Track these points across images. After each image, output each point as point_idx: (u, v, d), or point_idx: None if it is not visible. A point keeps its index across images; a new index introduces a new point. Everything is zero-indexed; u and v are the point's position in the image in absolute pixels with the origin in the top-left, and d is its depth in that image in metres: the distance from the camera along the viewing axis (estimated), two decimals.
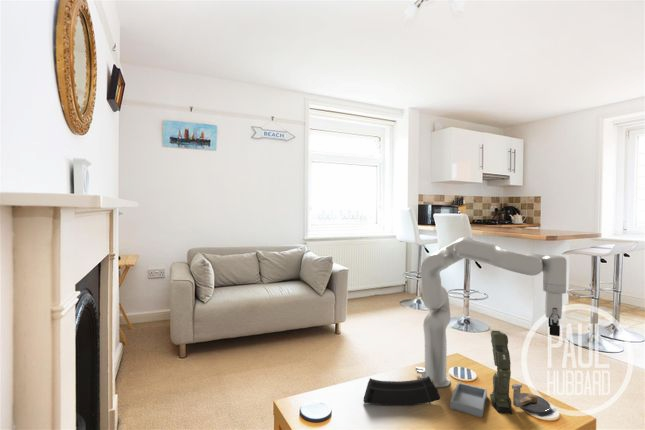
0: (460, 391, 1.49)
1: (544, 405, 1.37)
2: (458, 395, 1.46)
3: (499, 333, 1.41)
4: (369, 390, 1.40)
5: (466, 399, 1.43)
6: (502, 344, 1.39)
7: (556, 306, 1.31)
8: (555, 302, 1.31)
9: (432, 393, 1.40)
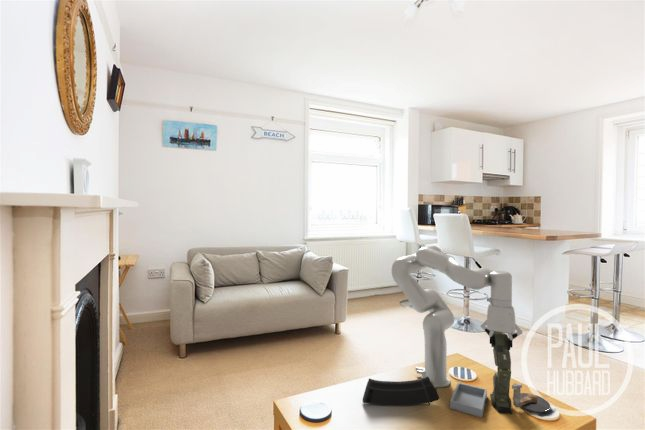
0: (460, 391, 1.49)
1: (544, 405, 1.37)
2: (458, 395, 1.46)
3: (500, 333, 1.41)
4: (368, 390, 1.40)
5: (466, 399, 1.43)
6: (503, 344, 1.39)
7: None
8: None
9: (431, 393, 1.40)
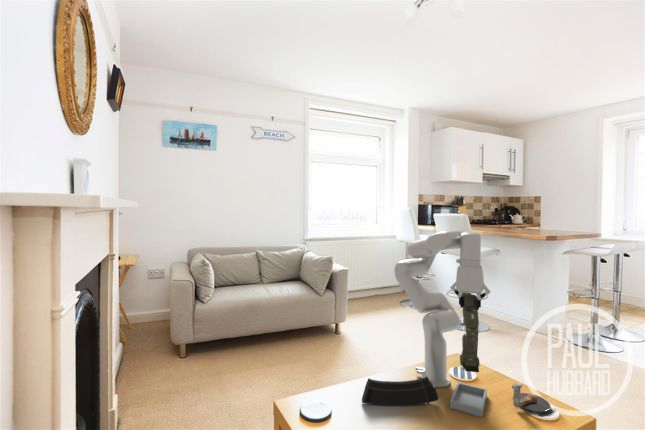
0: (460, 391, 1.49)
1: (544, 405, 1.37)
2: (458, 395, 1.46)
3: (469, 294, 1.42)
4: (367, 390, 1.40)
5: (466, 399, 1.43)
6: (471, 304, 1.40)
7: (483, 279, 1.38)
8: (482, 275, 1.38)
9: (430, 393, 1.40)
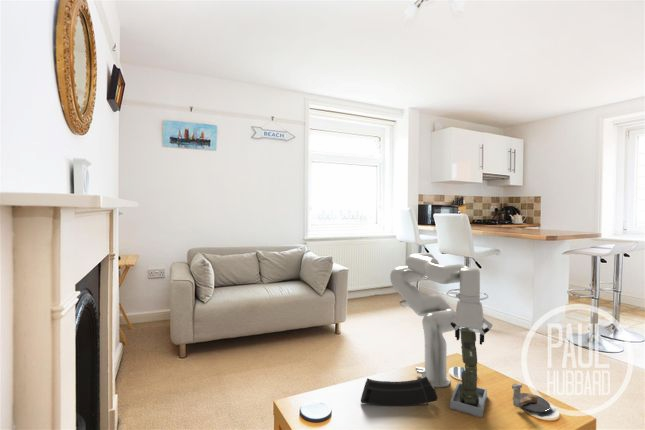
0: None
1: (544, 405, 1.37)
2: (458, 395, 1.46)
3: (467, 330, 1.43)
4: (366, 390, 1.40)
5: None
6: (470, 341, 1.41)
7: None
8: None
9: (429, 393, 1.40)
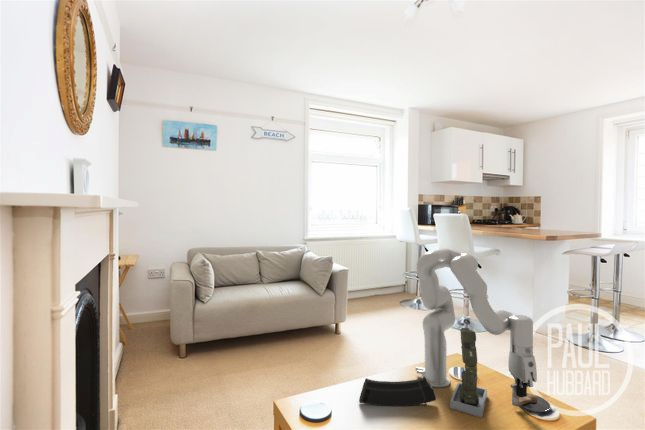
0: None
1: (544, 405, 1.37)
2: (458, 395, 1.46)
3: (467, 330, 1.43)
4: (365, 390, 1.40)
5: None
6: (470, 341, 1.41)
7: None
8: None
9: (428, 394, 1.40)
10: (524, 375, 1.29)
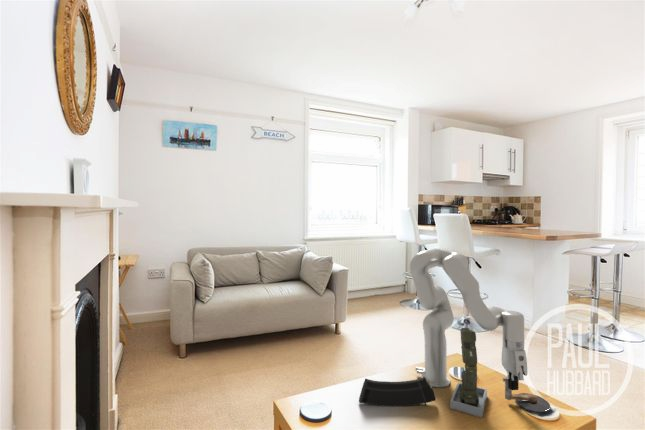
0: None
1: (544, 405, 1.37)
2: (458, 395, 1.46)
3: (467, 330, 1.43)
4: (364, 390, 1.40)
5: None
6: (470, 341, 1.41)
7: None
8: None
9: (428, 394, 1.39)
10: (514, 368, 1.34)
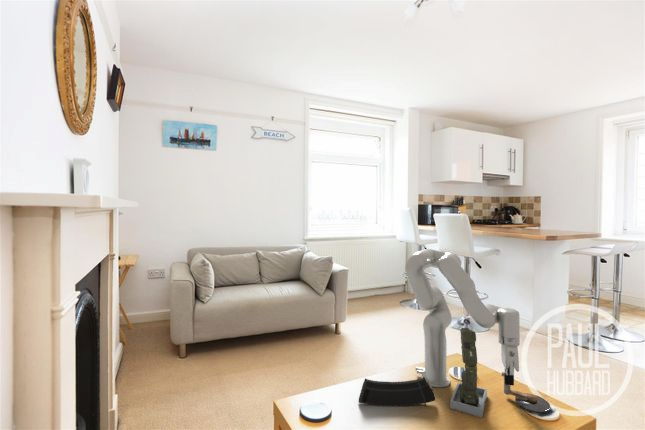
0: None
1: (544, 405, 1.37)
2: (458, 395, 1.46)
3: (467, 330, 1.43)
4: (364, 390, 1.40)
5: None
6: (470, 341, 1.41)
7: None
8: None
9: (427, 394, 1.39)
10: (505, 363, 1.39)
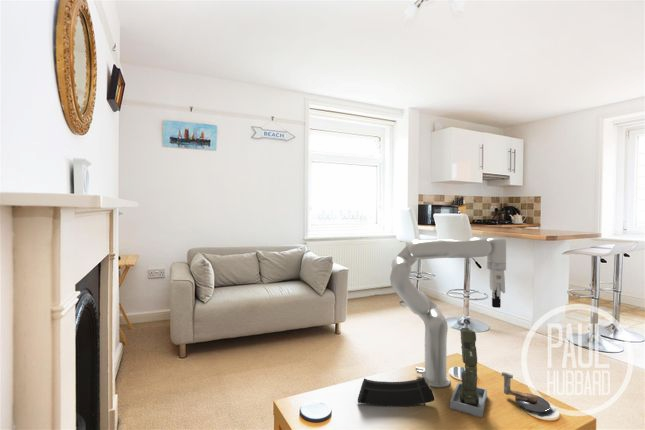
0: None
1: (544, 405, 1.37)
2: (458, 395, 1.46)
3: (467, 330, 1.43)
4: (363, 390, 1.40)
5: None
6: (470, 341, 1.41)
7: None
8: None
9: (426, 394, 1.39)
10: (492, 286, 1.51)
